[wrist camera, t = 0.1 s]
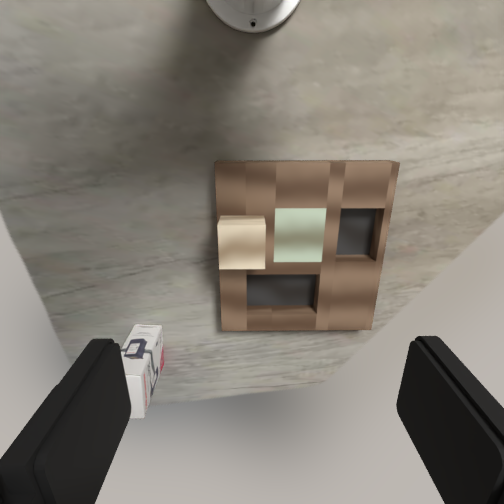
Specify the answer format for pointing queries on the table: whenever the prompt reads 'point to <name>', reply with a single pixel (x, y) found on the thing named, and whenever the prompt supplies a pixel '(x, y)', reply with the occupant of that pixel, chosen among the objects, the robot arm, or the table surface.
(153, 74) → the table surface
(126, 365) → the ink box
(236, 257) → the birch block
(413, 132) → the table surface
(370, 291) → the board
